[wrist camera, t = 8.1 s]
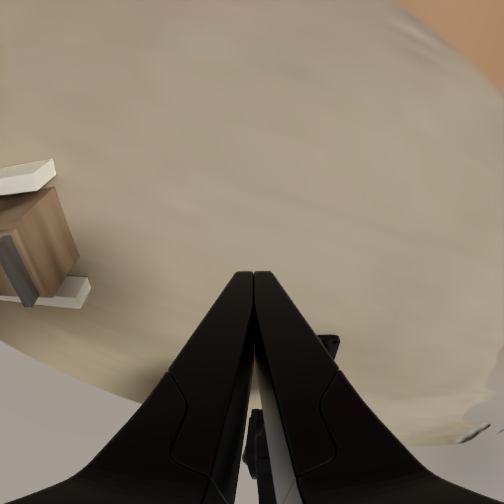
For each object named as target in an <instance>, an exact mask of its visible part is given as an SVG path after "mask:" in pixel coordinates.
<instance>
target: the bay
mask: <svg viewBox="0 0 504 504" xmlns="http://www.w3.org/2000/svg"><path fill="white" fill-rule="evenodd" d="M55 175H56V171H55V167H54V162H53V159H47V160H41V161H35V162H29V163H24V164H19V165H13V166H8V167H4V168H0V195H7V194H14V193H22V192H30V191H38V190H39V189H40V188H41V187H42V186H43V185H45V184H46V183H47V182H48V181H49V180H50V179H52V178H53V177H54V176H55ZM90 290H91V286H90V283H89V280H88V278H87V277H75V276H66V277H65V279H64V281H63V282H62V284H61V286H60V287H59V289H58V291H57V292H56V294H55V296H54V297H53V298H41V297H38V299H37V301H36V302H35V304H37V305H46V306H55V307H65V308H75V309H81V308H82V306H83V304H84V302H85V300H86V298H87V296H88V294H89V292H90ZM0 300H5V301H12V302H20V303H22V302H21V300H20V298H19V297H18V296H0Z"/></svg>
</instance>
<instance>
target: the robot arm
mask: <svg viewBox="0 0 504 504" xmlns="http://www.w3.org/2000/svg"><path fill="white" fill-rule="evenodd" d="M254 340H255V362H256V370H257V377H258V383H259V390H260V397H261V404H262V409H260V410H259V409H252V413H251V417H250V418H249V426H248V434H247V441H246V446H245V450H244V453H243V456H242V459H243V462H244V463H245V464H246V465H247V466H248V469H249V472H250V475H251V477H252V479H257V486H258V495H259V504H504V502H500V501H498V500H495V499H492V498H489V497H487V496H484V495H481V494H479V493H476V492H473V491H471V490H468V489H465V488H463V487H461V486H458V485H456V484H453V483H451V482H449V481H446V480H444V479H442V478H440V477H439V476H437V475H435V474H434V473H432V472H431V471H429V470H428V469H427V468H426V467H424V466H423V465H422V464H421V463H420V462H419V461H418V460H417V459H416V458H415V457H414V456H413V455H412V454H411V453H410V452H409V451H408V450H407V448H406V447H405V446H404V445H403V444H402V443H401V442H400V441H399V440H398V439H397V438H396V437H395V436H394V435H393V433H392V432H391V431H390V430H389V429H388V428H387V427H386V426H385V425H384V424H383V423H382V422H381V421H380V419H379V418H378V417H377V416H376V415H375V414H374V413H373V411H372V410H371V409H370V408H369V407H368V406H367V404H366V403H365V402H364V401H363V400H362V398H361V397H360V396H359V394H358V393H357V392H356V390H355V389H354V388H353V386H352V385H351V384H350V382H349V381H348V379H347V378H346V377H345V375H344V374H343V372H342V371H341V370H339V367H338V365H337V364H336V363H335V361H334V359H335V356H336V353H337V350H338V347H339V344H340V339H339V336H336V335H334V336H316V334H315V333H314V331H313V330H312V328H311V327H310V326H309V324H308V323H307V321H306V320H305V319H304V317H303V316H302V314H301V313H300V311H299V310H298V309H297V307H296V306H295V304H294V303H293V302H292V300H291V299H290V297H289V296H288V294H287V293H286V292H285V290H284V289H283V287H282V286H281V285H280V283H279V282H278V280H277V279H276V277H275V276H274V275H273V273H272V272H271V271H256V272H254V274H253V272H252V271H238V272H236V273H235V274H234V276H233V277H232V278H231V280H230V281H229V283H228V284H227V286H226V287H225V288H224V290H223V291H222V293H221V294H220V296H219V297H218V298H217V300H216V301H215V303H214V304H213V306H212V307H211V308H210V310H209V311H208V313H207V314H206V316H205V317H204V319H203V320H202V321H201V323H200V324H199V326H198V327H197V329H196V330H195V331H194V333H193V334H192V336H191V337H190V339H189V340H188V342H187V343H186V344H185V346H184V347H183V349H182V350H181V352H180V353H179V354H178V356H177V357H176V359H175V360H174V362H173V363H172V364H171V366H170V367H169V369H168V371H169V372H166V373H165V374H164V376H163V377H162V379H161V380H160V382H159V383H158V384H157V386H156V387H155V388H154V390H153V391H152V392H151V394H150V395H149V396H148V398H147V399H146V400H145V402H144V403H143V404H142V405H141V407H140V408H139V409H138V410H137V411H136V412H135V414H134V415H133V416H132V417H131V418H130V419H129V421H128V422H127V423H126V424H125V425H124V426H123V427H122V428H121V429H120V430H119V431H118V433H117V434H116V435H115V436H114V437H113V438H112V439H111V440H110V441H109V442H108V443H107V445H106V446H105V447H104V448H103V449H102V450H101V451H100V452H99V453H98V454H97V455H96V456H95V457H94V459H93V460H92V461H91V462H90V463H89V464H88V465H87V466H86V467H84V468H83V469H82V470H81V471H79V472H78V473H77V474H75V475H74V476H72V477H70V478H69V479H67V480H65V481H63V482H60V483H58V484H56V485H53V486H51V487H48V488H46V489H43V490H41V491H38V492H36V493H33V494H30V495H27V496H25V497H22V498H19V499H16V500H14V501H11V502H7V503H5V504H234V502H235V495H236V488H237V482H238V474H239V468H240V461H241V454H242V446H243V440H244V433H245V425H246V418H247V411H248V403H249V396H250V389H251V381H252V373H253V366H254Z"/></svg>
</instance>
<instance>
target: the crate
mask: <svg viewBox="0 0 504 504" xmlns="http://www.w3.org/2000/svg"><path fill="white" fill-rule="evenodd" d="M78 257H79V254H78V251H77V249H76V246H75V243H74V241H73V238H72V235H71V233H70V230H69V227H68V225H67V222H66V219H65V216H64V213H63V210H62V207H61V204H60V201H59V198H58V195H57V192H56V189H55V187H50V188H44V189H39V190H38V191H30V192H24V193H19V194H15V195H10V196H6V197H1V198H0V296H18V297H19V298H20V300H21V302H22V304H23V305H24V307H33V306H34V304H35V302H36V301H37V299H38V297H41V298H53V297H54V296H55V294H56V292H57V291H58V289H59V287H60V286H61V284H62V282H63V281H64V279H65V277H66V276H67V274H68V273H69V271H70V269H71V268H72V266H73V265H74V263H75V262H76V260H77V259H78Z"/></svg>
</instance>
